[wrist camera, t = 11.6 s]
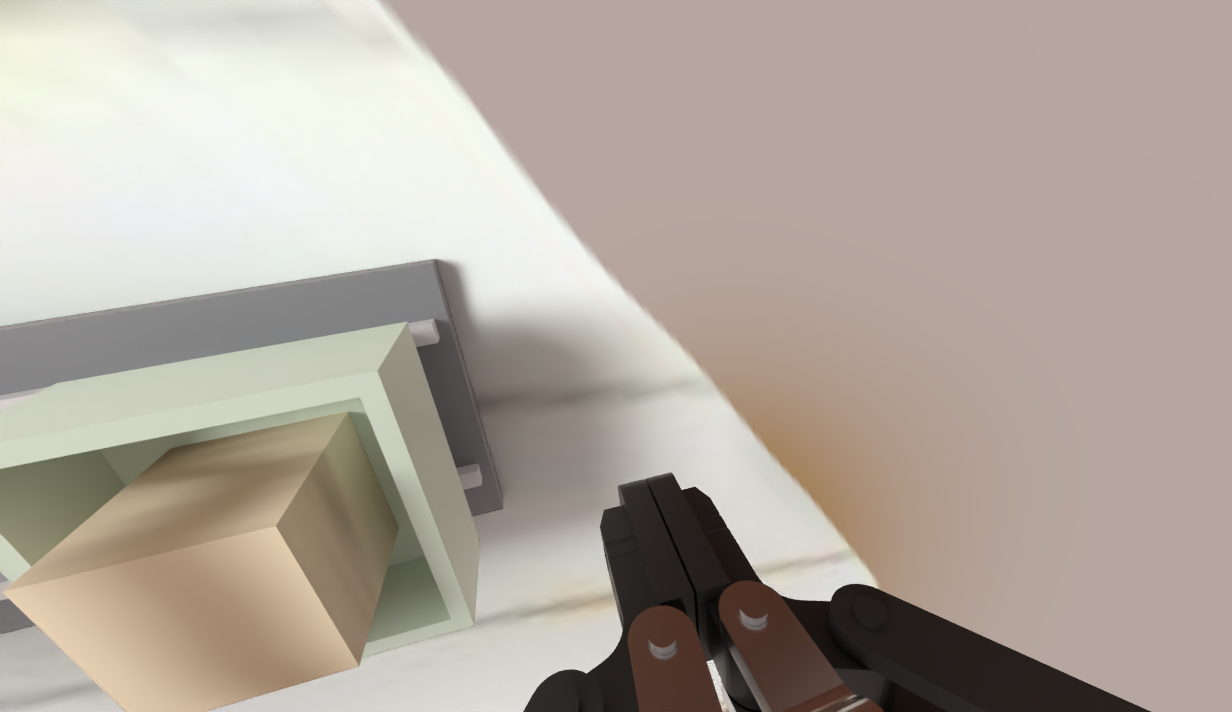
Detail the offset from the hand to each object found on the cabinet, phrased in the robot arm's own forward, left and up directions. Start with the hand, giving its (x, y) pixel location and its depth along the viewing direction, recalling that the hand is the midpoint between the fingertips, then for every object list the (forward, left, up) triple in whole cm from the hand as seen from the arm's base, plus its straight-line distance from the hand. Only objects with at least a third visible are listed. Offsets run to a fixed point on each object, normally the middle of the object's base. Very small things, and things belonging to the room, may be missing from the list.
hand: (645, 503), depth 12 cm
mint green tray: (-11, 0, -8) cm, 13 cm away
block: (-11, 0, -5) cm, 12 cm away
